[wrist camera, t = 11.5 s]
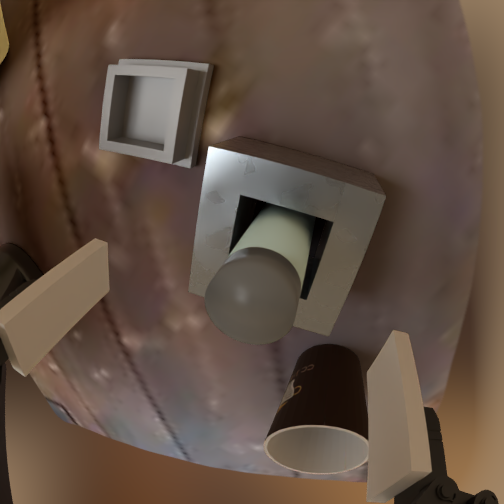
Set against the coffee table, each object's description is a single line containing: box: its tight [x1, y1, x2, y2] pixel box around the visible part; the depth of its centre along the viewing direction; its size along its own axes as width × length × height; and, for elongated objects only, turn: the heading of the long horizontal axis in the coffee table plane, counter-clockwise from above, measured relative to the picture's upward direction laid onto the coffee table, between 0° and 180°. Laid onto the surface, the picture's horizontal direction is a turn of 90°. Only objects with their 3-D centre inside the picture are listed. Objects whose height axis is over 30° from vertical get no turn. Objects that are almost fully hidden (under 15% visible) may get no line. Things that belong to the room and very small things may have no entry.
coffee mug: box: [263, 344, 369, 474], centre depth 26 cm, size 12×9×10 cm
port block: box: [188, 136, 386, 336], centre depth 21 cm, size 10×10×6 cm
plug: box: [205, 202, 316, 345], centre depth 19 cm, size 4×4×12 cm
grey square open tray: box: [99, 59, 214, 168], centre depth 21 cm, size 8×8×3 cm
